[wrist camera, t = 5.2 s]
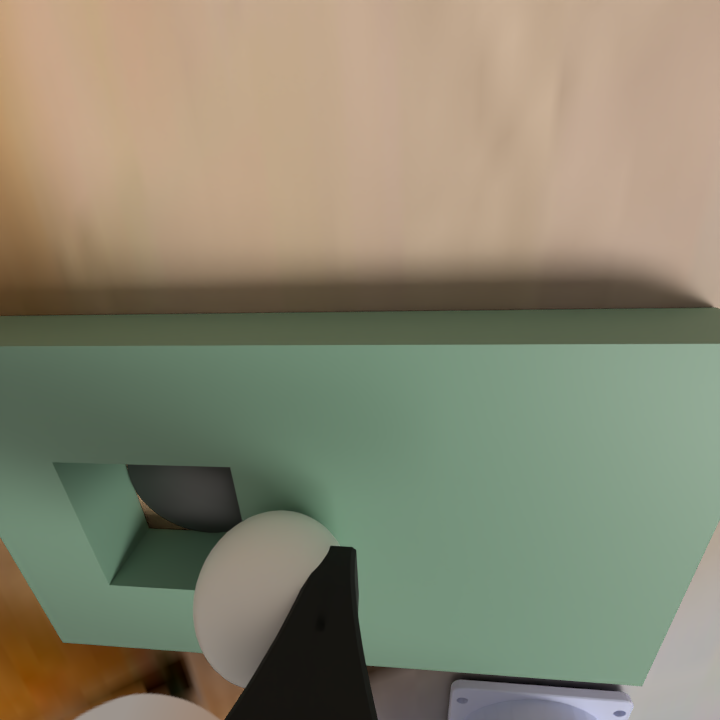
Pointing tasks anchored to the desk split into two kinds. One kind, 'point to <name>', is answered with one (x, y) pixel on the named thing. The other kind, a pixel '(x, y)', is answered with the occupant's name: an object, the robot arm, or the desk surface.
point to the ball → (254, 587)
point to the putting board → (375, 472)
